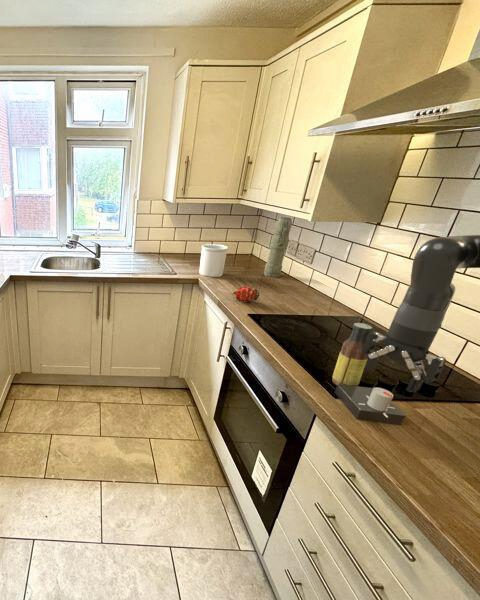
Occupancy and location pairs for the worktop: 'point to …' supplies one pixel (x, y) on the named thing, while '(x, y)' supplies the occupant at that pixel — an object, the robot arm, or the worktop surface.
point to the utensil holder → (212, 260)
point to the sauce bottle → (352, 357)
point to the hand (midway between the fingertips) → (389, 380)
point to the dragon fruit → (246, 294)
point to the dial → (380, 399)
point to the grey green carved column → (278, 247)
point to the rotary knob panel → (358, 406)
